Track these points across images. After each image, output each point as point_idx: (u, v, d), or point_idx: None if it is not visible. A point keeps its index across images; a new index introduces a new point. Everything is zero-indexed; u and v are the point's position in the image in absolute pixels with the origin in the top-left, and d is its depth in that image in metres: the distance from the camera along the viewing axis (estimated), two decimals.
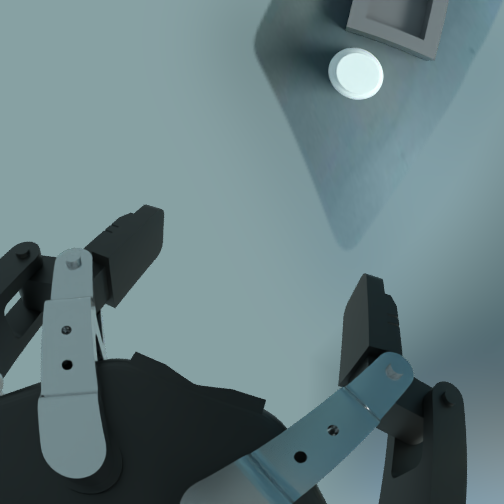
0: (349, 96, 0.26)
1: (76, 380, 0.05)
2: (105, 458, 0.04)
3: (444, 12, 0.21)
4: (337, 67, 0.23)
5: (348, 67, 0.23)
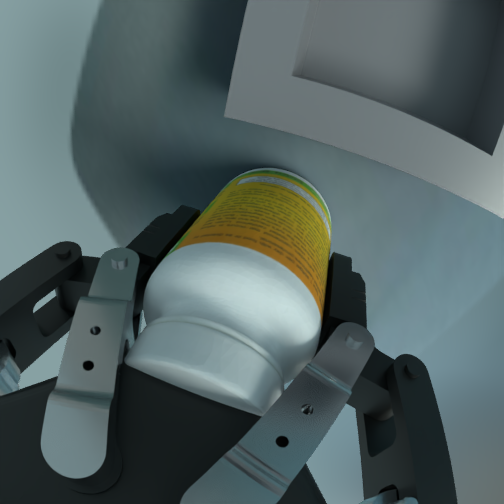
0: None
1: (93, 382, 0.05)
2: (102, 465, 0.04)
3: None
4: None
5: None
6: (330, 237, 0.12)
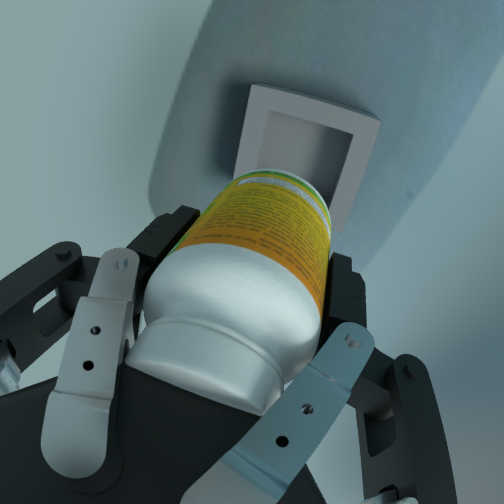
0: None
1: (93, 382, 0.05)
2: (102, 465, 0.04)
3: (364, 164, 0.22)
4: None
5: None
6: (330, 237, 0.12)
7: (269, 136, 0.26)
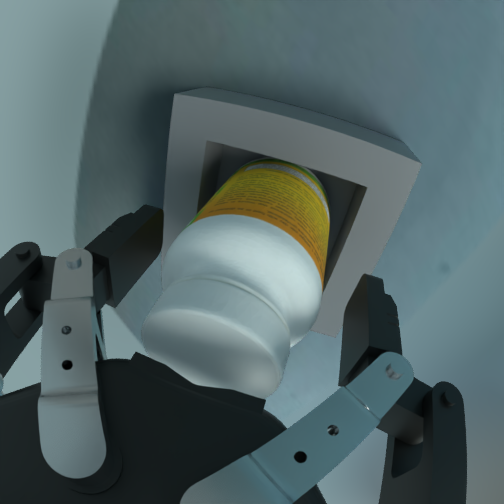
0: None
1: (76, 380, 0.05)
2: (105, 458, 0.04)
3: (382, 241, 0.12)
4: (144, 339, 0.08)
5: (173, 346, 0.08)
6: (329, 219, 0.14)
7: (220, 179, 0.16)
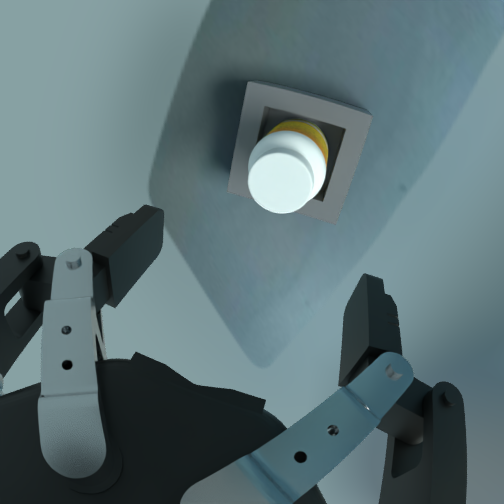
0: None
1: (76, 380, 0.05)
2: (105, 458, 0.04)
3: (357, 158, 0.23)
4: (249, 176, 0.19)
5: (264, 176, 0.19)
6: (327, 149, 0.24)
7: (265, 131, 0.26)
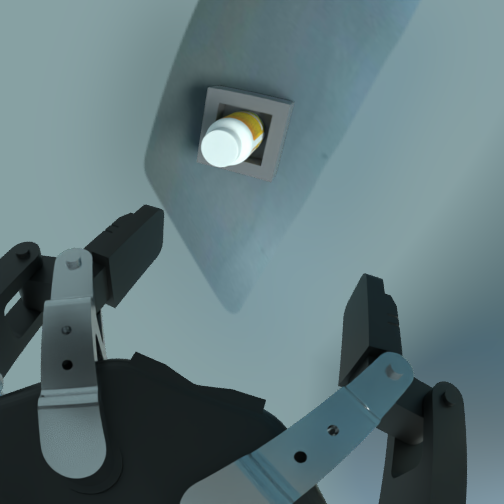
0: None
1: (76, 380, 0.05)
2: (105, 458, 0.04)
3: (281, 134, 0.35)
4: (201, 145, 0.30)
5: (210, 144, 0.30)
6: (262, 129, 0.36)
7: None
